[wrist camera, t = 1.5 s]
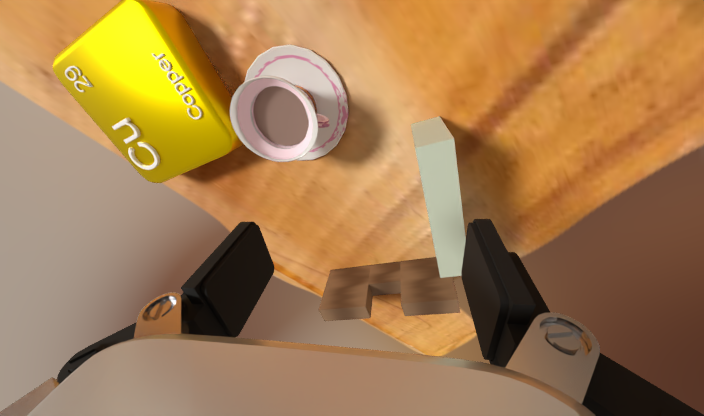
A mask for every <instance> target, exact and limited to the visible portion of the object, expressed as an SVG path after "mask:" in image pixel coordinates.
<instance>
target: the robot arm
mask: <svg viewBox="0 0 704 416" xmlns="http://www.w3.org/2000/svg"><path fill="white" fill-rule="evenodd" d="M273 273H274V264H273V262H272V259H271V257H270V254H269V251H268V249H267V246H266V244H265V241H264V238H263V236H262V233H261V231H260V228H259V226H258V225H256V224H255V223H254V222H240V223H239V224H238V225H237V226H236V228H235V229H234V230H233V231H232V232H231V233H230V234H229V235H228V236H227V237H226V239H225V240H224V241H223V242H222V243H221V244H220V245H219V246H218V247H217V249H216V250H215V251H214V252H213V253H212V254H211V255H210V256H209V257H208V258H207V259H206V261H205V262H204V263H203V264H202V265H201V266H200V267H199V268H198V269H197V270H196V272H195V273H194V274H193V275H192V276H191V277H190V278H189V279H188V280H187V282H186V283H185V284H184V285H183V286H182V287H181V289H182V290H183V294H182V295H179V294H178V293H174V292H172V293H166V294H164V295H161V296H159V297H157V298H155V299H153V300H152V301H151V302H149V303H148V304H147V305H146V306H145V307H144V308H143V309H142V310H141V311H140V313H139V315H138V318H137V322H136V323H134V324H132V325H130V326H128V327H126V328H124V329H122V330H120V331H118V332H116V333H114V334H112V335H110V336H108V337H106V338H104V339H102V340H100V341H98V342H96V343H94V344H92V345H90V346H88V347H87V348H85V349H83V350H82V351H80V352H78V353H76V354H75V355H74V356H73V357H72V358H71V359H70V360H69V361H68V362H67V363H66V364H65V365H64V367H63V368H62V369H61V370H60V372H59V374H58V377H57V379H55V378H53V377H52V378H50V379H49V380H47V381H46V382H44V383H43V384H41V385H40V386H39V387H37V388H35V389H34V390H32V391H31V392H29V393H28V394H26V395H25V396H23V397H22V398H21V399H19V400H17V401H16V402H14V403H13V404H11V405H10V406H8V407H7V408H5V409H4V410H2V411H1V412H0V416H704V415H703V414H701V413H700V412H698V411H696V410H695V409H693V408H691V407H690V406H688V405H686V404H685V403H683V402H681V401H680V400H678V399H676V398H675V397H673V396H671V395H669V394H668V393H666V392H664V391H663V390H661V389H660V388H658V387H656V386H654V385H653V384H651V383H650V382H648V381H646V380H645V379H643V378H641V377H640V376H638V375H636V374H634V373H633V372H631V371H630V370H628V369H626V368H625V367H623V366H621V365H620V364H618V363H616V362H615V361H612V360H611V359H610V358H608V357H606V356H604V355H603V354H601V353H600V347H599V344H598V342H597V339H596V338H595V337H594V335H593V334H592V333H591V331H589V330H588V329H587V328H586V327H585V326H584V325H582V324H581V323H579V322H577V321H576V320H574V319H572V318H570V317H567V316H565V315H562V314H558V313H550V311H549V309H548V307H547V306H546V304H545V302H544V300H543V299H542V297H541V295H540V293H539V291H538V290H537V288H536V287H535V285H534V283H533V281H532V279H531V277H530V276H529V274H528V272H527V270H526V269H525V267H524V265H523V263H522V262H521V260H520V258H519V256H518V255H517V254H516V253H514V252H508V251H507V250H506V248H505V246H504V244H503V242H502V240H501V238H500V236H499V234H498V233H497V231H496V229H495V227H494V225H493V223H492V221H491V220H490V219H474V221H473V223H469V224H468V228H467V235H466V242H465V249H464V257H463V264H462V271H461V274H462V280H463V284H464V288H465V292H466V296H467V299H468V303H469V307H470V310H471V314H472V318H473V321H474V325H475V329H476V333H477V336H478V340H479V344H480V347H481V351H482V355H483V357H484V359H485V360H489V361H490V364H487V363H482V362H476V361H469V360H462V359H455V358H446V357H438V356H429V355H420V354H410V353H400V352H389V351H379V350H369V349H358V348H347V347H337V346H325V345H315V344H304V343H293V342H281V341H270V340H258V339H245V338H235V337H237V336H238V335H239V334H240V332H241V330H242V328H243V327H244V325H245V323H246V321H247V319H248V317H249V316H250V314H251V312H252V310H253V309H254V307H255V305H256V303H257V302H258V300H259V298H260V296H261V294H262V293H263V291H264V289H265V287H266V285H267V284H268V282H269V280H270V278H271V276H272V275H273Z"/></svg>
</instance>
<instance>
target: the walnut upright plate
mask: <svg viewBox="0 0 704 416" xmlns="http://www.w3.org/2000/svg"><path fill="white" fill-rule="evenodd" d="M398 293H401V306H402V309H403V312H404V315H405V316H414V315H430V314H446V313H460V308H459V302H458V297H457V293H456V289H455V285H454V281H453V277H444V278H440V274H439V268H438V263H437V258H436V257H433V258H425V259H417V260H409V261H401V262H393V263H385V264H376V265H368V266H360V267H352V268H344V269H336V270H331V271H330V274H329V277H328V281H327V284H326V287H325V290H324V294H323V297H322V300H321V304H320V307H319V312H320V313H321V315H322V317H323V319H324V321H333V320H349V319H365V318H370V317H371V307H372V297H373V296H375V295H386V294H398Z"/></svg>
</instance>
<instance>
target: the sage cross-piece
mask: <svg viewBox="0 0 704 416" xmlns="http://www.w3.org/2000/svg"><path fill="white" fill-rule="evenodd" d="M411 128H412V134H413V139H414V144H415V150H416V155H417V160H418V165H419V170H420V175H421V181H422V186H423V191H424V196H425V201H426V206H427V212H428V217H429V222H430V227H431V232H432V237H433V243H434V248H435V253H436V258H437V263H438V268H439V274H440V278H444V277H454V276H462V274H461V271H462V264H463V257H464V249H465V242H466V237H465V229H464V220H463V211H462V203H461V194H460V186H459V177H458V168H457V160H456V151H455V142H454V138H453V136H452V135H451V133H450V132H449V130H448V128H447V127H446V125H445V124H444V122H443V121H442V119H441V118H440V116H439V117H435V118H431V119H428V120H424V121H420V122H417V123H413V124H411Z"/></svg>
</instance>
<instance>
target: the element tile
mask: <svg viewBox="0 0 704 416" xmlns="http://www.w3.org/2000/svg"><path fill="white" fill-rule="evenodd" d="M53 71H54V72H55V74H56V76H57V77H58V79H59V80H60V82H61V83H62V84H63V86H64V87H65V88H66V89H67V90H68V92H69V93H70V94H71V95H72V96H73V97H74V99H75V100H76V101H77V102H78V103H79V104H80V105H81V107H82V108H83V109H84V110H85V111H86V112H87V114H88V115H89V116H90V117H91V118H92V119H93V121H94V122H95V123H96V124H97V125H98V126H99V127H100V129H101V130H102V131H103V132H104V133H105V134H106V136H107V137H108V138H109V139H110V140H111V141H112V143H113V144H114V145H115V146H116V147H117V148H118V149H119V151H120V152H121V153H122V154H123V155H124V156H125V158H126V159H127V160H128V161H129V162H130V163H131V165H132V166H133V167H134V168H135V169H136V170H137V171H138V173H139V174H140V175H142V176H143V177H144V178H145V179H146V180H148V181H150V182H153V183H162V182H165V181H167V180H169V179H172V178H174V177H176V176H178V175H181V174H183V173H185V172H188V171H190V170H192V169H195V168H197V167H199V166H201V165H204V164H206V163H208V162H211V161H213V160H215V159H218V158H220V157H222V156H224V155H227V154H228V153H230V152H232V151H233V150H235V149H236V148H238V147H240V146H241V145H243V142H242V141H241V140H240V139H239V137H238V136H237V134H236V132H235V131H234V128H233V126H232V123H231V119H230V104H231V100H232V98H231V96H230V94H229V93H228V91H227V89H226V88H225V86H224V84H223V83H222V81H221V79H220V78H219V76H218V74H217V72H216V71H215V69H214V67H213V66H212V64H211V62H210V61H209V59H208V57H207V56H206V54H205V52H204V50H203V49H202V47H201V45H200V44H199V42H198V40H197V39H196V37H195V35H194V34H193V32H192V30H191V28H190V27H189V25H188V23H187V22H186V20H185V19H184V17H183V16H182V15H181V13H180V12H179V11H178V10H176V9H175V8H174V7H173V6H171V5H168V4H166V3H161V2H156V1H151V0H121V1H120V2H119V3H118V4H117V5H115V6H114V7H113V8H112V9H111V10H109V11H108V12H107V13H106V14H105V15H104V16H102V17H101V18H100V19H99V20H98V21H96V22H95V23H94V24H93V25H92V26H91V27H89V28H88V29H87V30H86V31H85V32H83V33H82V34H81V35H80V36H79V37H78V38H76V39H75V40H74V41H73V42H72V43H70V44H69V45H68V46H67V47H66V48H65V49H63V50H62V51H61V52H60V53H59V54H57V55H56V56H55V58H54V63H53Z"/></svg>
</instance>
